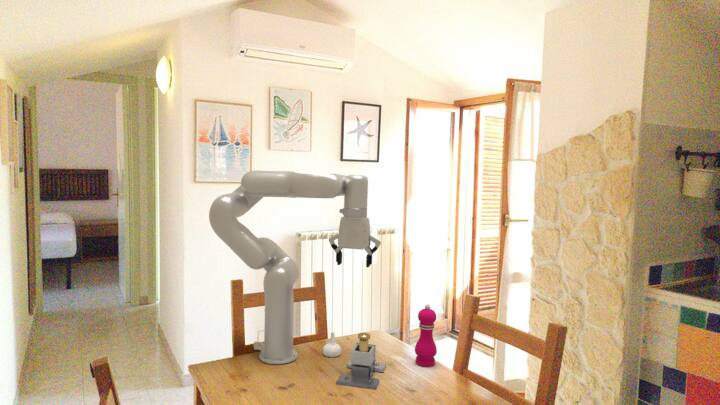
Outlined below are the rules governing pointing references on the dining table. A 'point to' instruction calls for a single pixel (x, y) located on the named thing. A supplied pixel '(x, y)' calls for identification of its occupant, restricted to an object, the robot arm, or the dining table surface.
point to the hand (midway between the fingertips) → (353, 265)
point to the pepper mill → (426, 338)
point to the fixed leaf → (359, 377)
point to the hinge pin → (363, 341)
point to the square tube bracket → (365, 358)
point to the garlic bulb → (332, 348)
